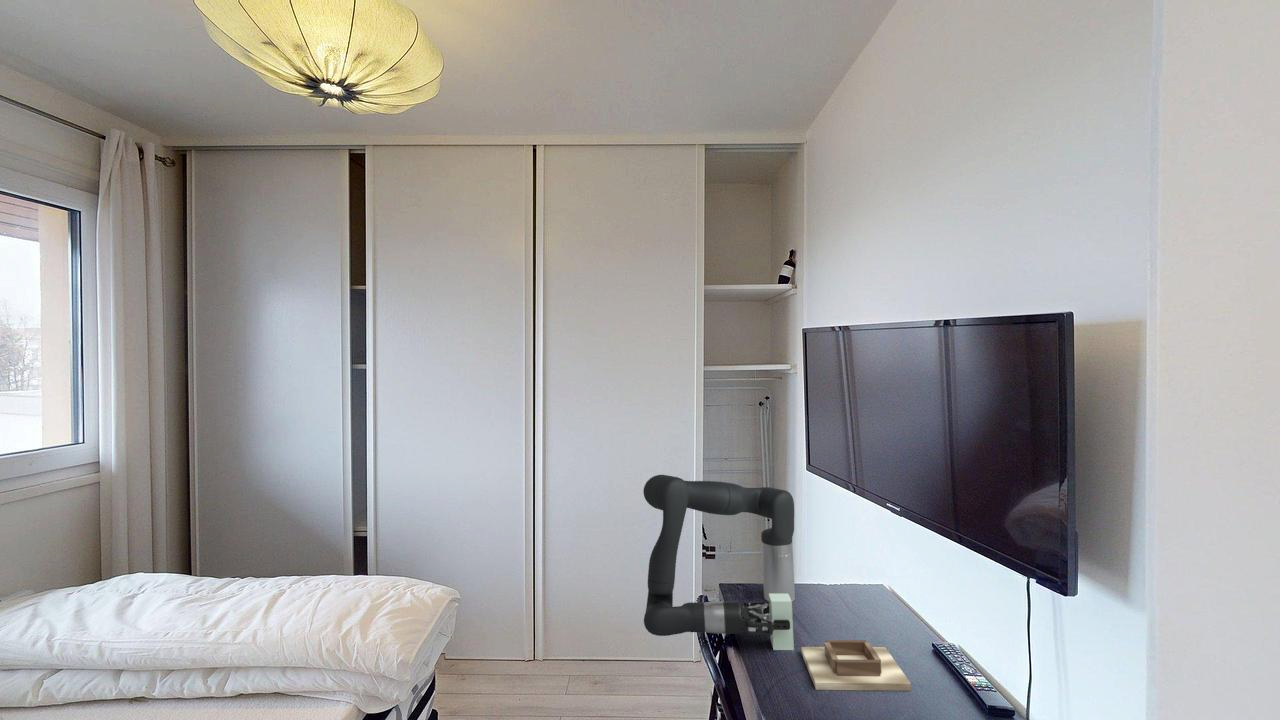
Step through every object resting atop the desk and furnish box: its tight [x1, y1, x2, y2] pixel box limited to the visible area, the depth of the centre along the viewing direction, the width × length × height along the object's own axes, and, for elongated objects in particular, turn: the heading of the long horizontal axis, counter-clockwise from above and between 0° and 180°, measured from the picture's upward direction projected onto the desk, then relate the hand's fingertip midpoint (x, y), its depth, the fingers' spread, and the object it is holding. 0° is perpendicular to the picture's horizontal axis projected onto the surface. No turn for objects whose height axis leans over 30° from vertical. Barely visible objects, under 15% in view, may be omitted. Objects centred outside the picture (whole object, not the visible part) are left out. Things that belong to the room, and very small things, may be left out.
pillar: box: [768, 594, 795, 651], centre depth 143 cm, size 5×5×12 cm
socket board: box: [800, 639, 912, 692], centre depth 129 cm, size 16×20×4 cm
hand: (786, 617), depth 142 cm, fingers open, 8 cm apart
